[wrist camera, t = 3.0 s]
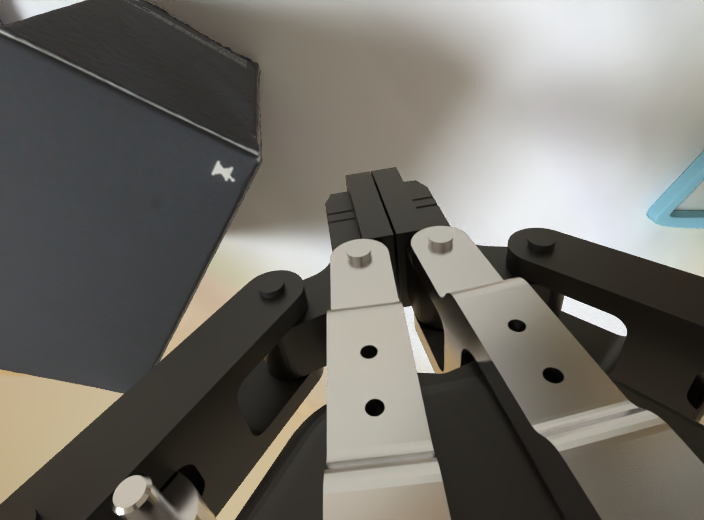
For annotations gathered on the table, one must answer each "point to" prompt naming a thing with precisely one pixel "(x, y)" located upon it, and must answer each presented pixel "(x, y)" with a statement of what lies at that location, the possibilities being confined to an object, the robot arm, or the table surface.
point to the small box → (114, 183)
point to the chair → (680, 200)
